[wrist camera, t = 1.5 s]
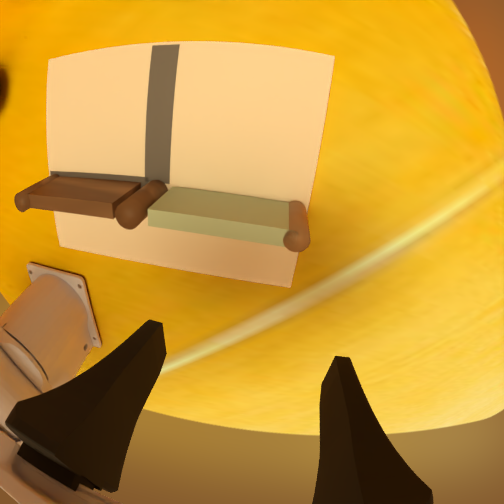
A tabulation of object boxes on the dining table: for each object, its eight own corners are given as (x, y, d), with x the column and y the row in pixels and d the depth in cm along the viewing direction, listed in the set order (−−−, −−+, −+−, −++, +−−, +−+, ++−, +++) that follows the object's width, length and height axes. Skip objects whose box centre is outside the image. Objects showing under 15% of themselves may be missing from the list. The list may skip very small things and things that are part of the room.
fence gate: (172, 203, 19) (148, 229, 16) (172, 183, 19) (147, 205, 15) (303, 222, 19) (307, 254, 16) (308, 202, 18) (312, 230, 15)
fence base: (167, 203, 20) (140, 231, 16) (51, 190, 20) (16, 212, 16) (168, 180, 19) (139, 204, 15) (49, 172, 19) (12, 191, 15)
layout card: (290, 283, 22) (290, 288, 22) (63, 243, 23) (59, 246, 23) (333, 57, 14) (334, 56, 14) (52, 59, 15) (48, 59, 15)
